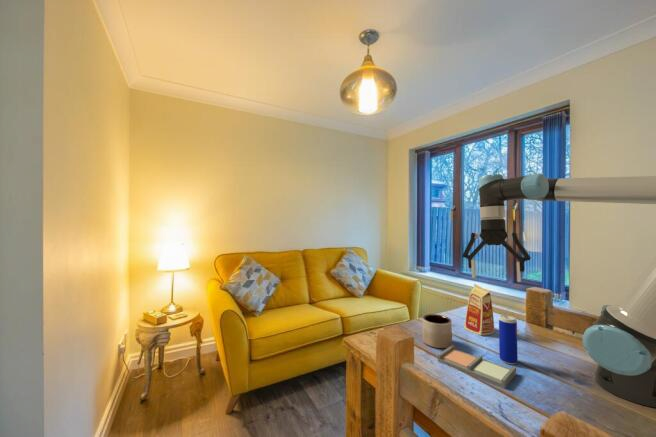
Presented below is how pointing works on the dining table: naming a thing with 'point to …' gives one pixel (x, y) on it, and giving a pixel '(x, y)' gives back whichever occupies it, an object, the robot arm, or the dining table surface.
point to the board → (477, 366)
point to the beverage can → (508, 339)
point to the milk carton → (479, 312)
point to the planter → (437, 331)
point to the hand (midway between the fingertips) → (495, 279)
